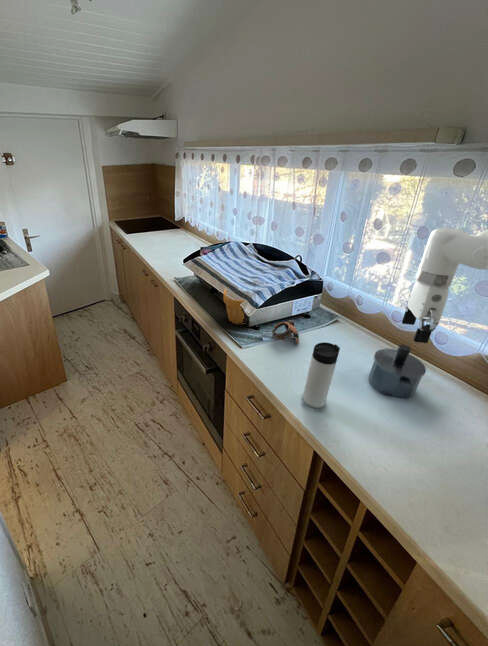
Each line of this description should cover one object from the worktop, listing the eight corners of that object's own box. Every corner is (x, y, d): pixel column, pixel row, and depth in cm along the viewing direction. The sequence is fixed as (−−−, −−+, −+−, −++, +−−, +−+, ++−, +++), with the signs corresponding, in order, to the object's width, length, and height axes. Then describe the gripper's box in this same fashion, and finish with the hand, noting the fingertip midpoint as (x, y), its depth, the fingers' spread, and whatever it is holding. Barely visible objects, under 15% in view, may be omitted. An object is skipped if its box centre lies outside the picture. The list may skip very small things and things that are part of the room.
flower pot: (259, 327, 128) (262, 299, 122) (225, 328, 127) (227, 301, 121) (250, 310, 140) (253, 285, 134) (220, 312, 140) (221, 286, 133)
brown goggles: (299, 350, 114) (290, 335, 111) (275, 352, 120) (266, 337, 117) (304, 328, 122) (296, 313, 119) (282, 330, 128) (274, 316, 125)
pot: (403, 370, 103) (411, 349, 99) (423, 409, 88) (434, 387, 84) (363, 364, 106) (369, 344, 102) (375, 401, 91) (384, 379, 87)
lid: (415, 355, 97) (422, 338, 94) (432, 384, 86) (441, 365, 83) (368, 349, 101) (374, 332, 98) (379, 375, 89) (385, 357, 86)
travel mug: (329, 408, 89) (345, 353, 80) (308, 411, 88) (322, 355, 79) (318, 392, 94) (332, 339, 85) (298, 395, 93) (310, 342, 84)
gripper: (468, 292, 71) (442, 351, 79) (436, 266, 86) (417, 319, 94) (430, 289, 73) (408, 347, 81) (406, 264, 88) (390, 316, 96)
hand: (413, 332), depth 87 cm, fingers open, 9 cm apart
